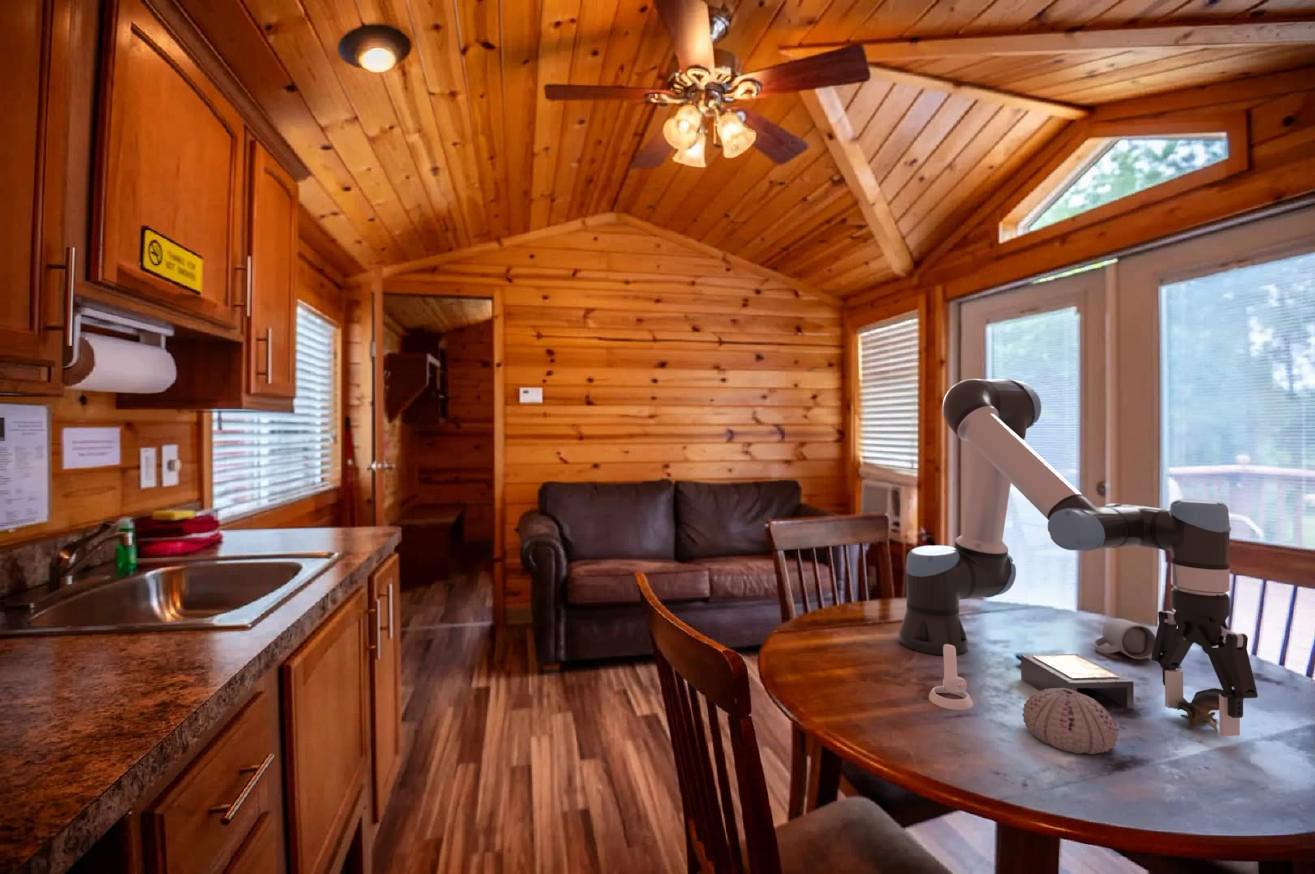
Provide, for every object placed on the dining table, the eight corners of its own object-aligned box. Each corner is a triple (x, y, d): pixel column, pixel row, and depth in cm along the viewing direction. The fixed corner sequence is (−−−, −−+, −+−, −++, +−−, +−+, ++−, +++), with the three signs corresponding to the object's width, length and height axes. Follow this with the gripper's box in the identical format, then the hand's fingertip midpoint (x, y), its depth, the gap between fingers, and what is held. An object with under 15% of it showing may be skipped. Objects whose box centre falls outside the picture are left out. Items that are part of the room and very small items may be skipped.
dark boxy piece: (1070, 709, 109) (1070, 681, 109) (1021, 678, 123) (1020, 653, 123) (1133, 708, 109) (1133, 679, 109) (1077, 677, 123) (1076, 652, 123)
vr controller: (956, 658, 121) (974, 649, 115) (962, 720, 114) (982, 714, 109) (920, 650, 121) (936, 640, 116) (924, 712, 115) (941, 705, 109)
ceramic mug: (1132, 647, 141) (1131, 614, 141) (1158, 659, 133) (1157, 625, 133) (1085, 646, 142) (1084, 614, 142) (1107, 659, 134) (1106, 625, 134)
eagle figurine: (1234, 737, 97) (1247, 712, 102) (1200, 694, 99) (1215, 672, 104) (1185, 744, 102) (1200, 720, 107) (1154, 704, 105) (1170, 682, 110)
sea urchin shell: (1140, 753, 94) (1139, 703, 94) (1076, 767, 90) (1075, 715, 90) (1062, 716, 107) (1061, 671, 107) (1003, 726, 103) (1002, 681, 103)
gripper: (1291, 607, 91) (1292, 753, 91) (1163, 574, 113) (1164, 692, 113) (1244, 608, 91) (1245, 754, 91) (1125, 575, 112) (1126, 692, 112)
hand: (1200, 719), depth 102 cm, fingers open, 9 cm apart
